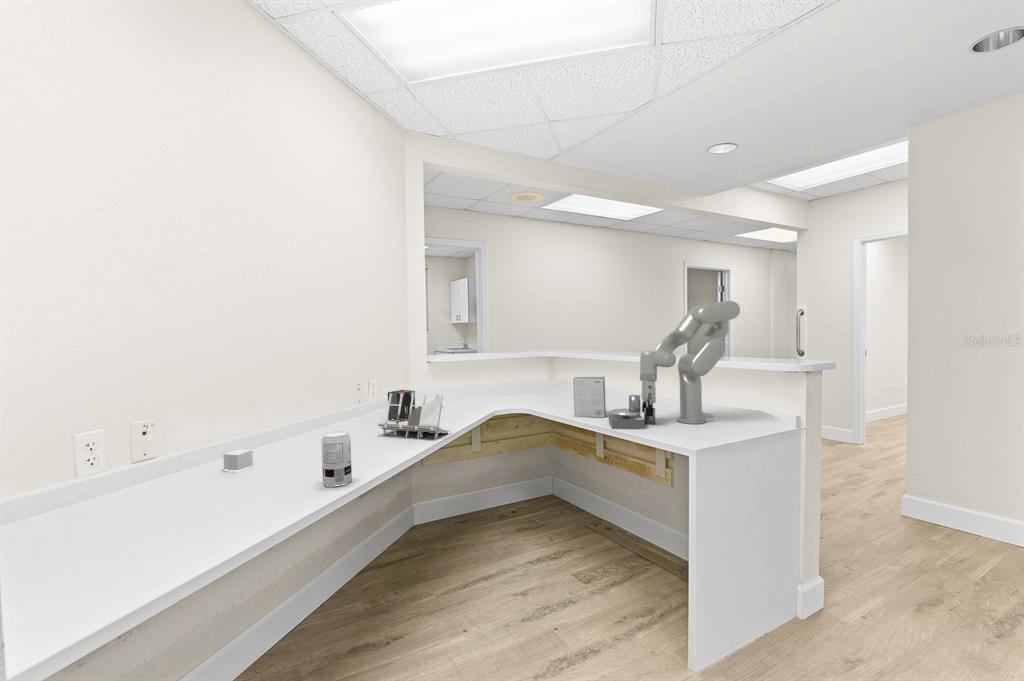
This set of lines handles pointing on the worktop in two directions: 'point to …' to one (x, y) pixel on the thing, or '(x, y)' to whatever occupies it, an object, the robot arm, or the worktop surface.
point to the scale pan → (624, 412)
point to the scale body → (626, 422)
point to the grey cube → (238, 459)
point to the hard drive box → (589, 396)
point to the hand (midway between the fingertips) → (647, 414)
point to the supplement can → (336, 458)
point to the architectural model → (418, 417)
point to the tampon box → (404, 406)
